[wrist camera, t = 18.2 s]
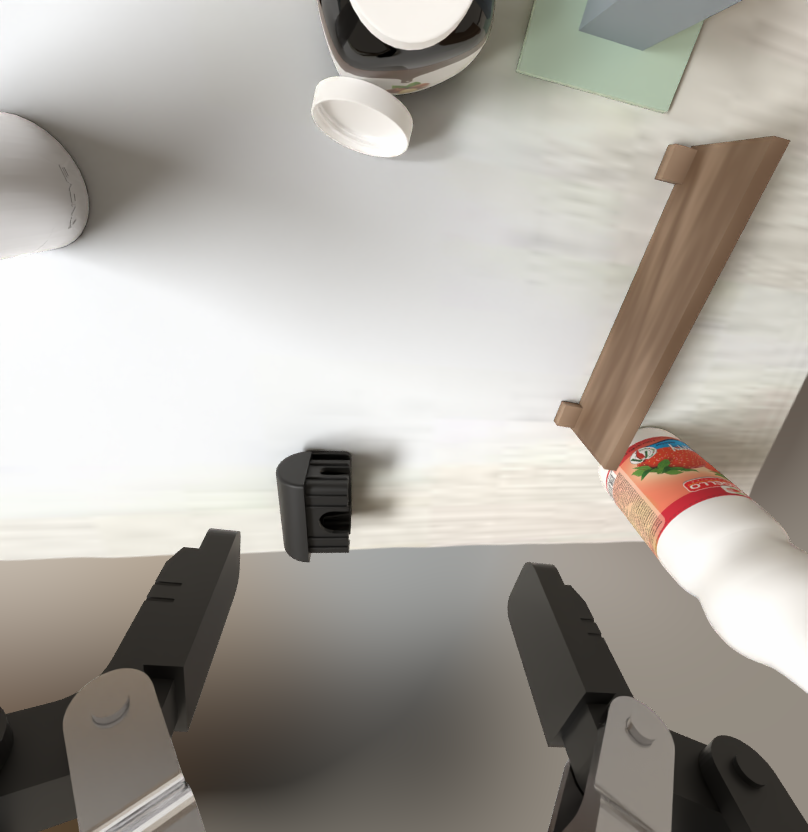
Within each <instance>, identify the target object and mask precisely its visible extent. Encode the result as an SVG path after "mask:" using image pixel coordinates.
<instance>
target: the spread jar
mask: <svg viewBox="0 0 808 832" xmlns="http://www.w3.org/2000/svg"><path fill="white" fill-rule="evenodd" d="M317 5H318V10H319V15H320V19H321V24H322V28H323V32H324V35H325V39H326V42H327V45H328V48H329V51H330V54H331V57H332V59H333V62H334V65H335V67H336V69H337V71H338V73H339V75H340V76H334V77H329V78H326V79H324V80H322V81H320V82H319V84H318V85H317V86H316V89H315V94H314V99H313V104H312V109H311V115H312V118H313V120H314V122H315V124H316V125H317V126H318V128H319V129H320V130H321V131H322V132H323V133H324V134H326V135H327V136H328V137H330V138H331V139H333V140H334V141H336V142H337V143H339V144H341V145H343V146H345V147H347V148H349V149H351V150H354V151H357V152H359V153H362V154H366V155H370V156H376V157H395V156H399V155H401V154H403V153H404V152H405V151H406V150H407V148H408V145H409V141H410V137H411V133H412V128H413V120H412V117H411V114H410V113H409V111H408V110H407V108H406V107H405V106H404V105H403V104H402V102H401V101H399V100H398V99H397V98H396V97H395V96H393V95H400V94H408V93H413V92H417V91H420V90H424V89H426V88H429V87H432V86H434V85H437V84H439V83H441V82H443V81H445V80H447V79H449V78H451V77H453V76H455V75H456V74H458V73H459V72H461V71H462V70H463V69H465V68H466V67H467V66H468V65H469V64H470V63H471V62H472V61H473V60H474V58H475V57H476V56H477V55H478V53H479V52H480V50H481V49H482V47H483V46H484V44H485V43H486V41H487V38H488V36H489V33H490V30H491V26H492V22H493V16H494V9H495V0H317Z"/></svg>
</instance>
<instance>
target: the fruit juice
mask: <svg viewBox="0 0 808 832" xmlns="http://www.w3.org/2000/svg"><path fill="white" fill-rule="evenodd" d="M598 472H599V478H600V481H601V483H602V485H603V487H604V488H605V490H606V491H607V492H608V494H609V495H610V496H611V498H612V499H613V500H614V502H615V503H616V504H617V506H618V507H619V508H620V510H621V511H622V512H623V513H624V515H625V516H626V517H627V519H628V520H629V521H630V523H631V524H632V525H633V527H634V528H635V529H636V531H637V532H638V533H639V534H640V536H641V537H642V538H643V540H644V541H645V542H646V544H647V545H648V546H649V548H650V549H651V550H652V552H653V553H654V554H655V555H656V557H657V558H658V560H659V561H660V562H661V564H662V565H663V567H664V568H665V569H666V570H667V571H668V573H669V574H670V575H671V576H672V577H673V578H674V579H675V581H676V582H677V583H678V584H679V585H680V586H681V587H682V588H684V589H685V590H686V591H687V592H688V593H690V594H692V595H693V596H695V597H697V598H698V599H699V601H700V603H701V605H702V607H703V610H704V612H705V614H706V617H707V619H708V620H709V623H710V624H711V626H712V627H713V629H714V630H715V631H716V632H717V634H718V635H719V636H720V637H721V638H722V639H723V640H724V641H725V642H726V643H727V644H728V645H729V646H730V647H731V648H732V649H734V650H735V651H737V652H738V653H740V654H741V655H743V656H745V657H747V658H749V659H752V660H754V661H756V662H759V663H761V664H764V665H767V666H770V667H771V668H773V669H775V670H777V671H778V672H780V673H781V674H783V675H784V676H786V677H787V678H788V679H789V680H791V681H792V682H793V683H795V684H796V685H797V686H799V687H800V688H801V689H803V690H804V691H805V692H806V693H808V553H807V552H805V551H804V550H801V549H800V548H797V547H796V546H795V545H793V544H792V543H791V541H790V539H789V537H788V535H787V533H786V531H785V530H784V529H783V527H782V526H781V525H780V524H779V523H778V522H777V521H776V520H775V519H774V518H773V517H772V516H771V515H770V514H769V513H768V512H767V511H766V510H765V509H763V508H762V507H761V506H760V505H759V504H757V503H756V502H755V501H754V500H752V499H751V498H750V497H749V496H747V495H746V494H745V493H744V492H743V491H741V490H740V489H739V488H738V487H737V486H735V485H734V484H733V483H732V482H731V481H729V480H728V479H727V478H726V477H725V476H723V475H722V474H721V473H720V472H718V471H717V470H716V469H715V468H714V467H712V466H711V465H710V464H709V463H708V462H706V461H705V460H704V459H703V458H702V457H700V456H699V455H698V454H697V453H696V452H694V451H693V450H692V449H691V448H690V447H688V446H687V445H686V444H685V443H684V442H682V441H681V440H680V439H679V438H678V437H676V436H675V435H673V434H671V433H670V432H668V431H666V430H663V429H659V428H652V427H647V428H640V429H638V431H637V433H636V435H635V436H634V438H633V440H632V442H631V444H630V446H629V448H628V450H627V452H626V453H625V455H624V457H623V459H622V461H621V463H620V465H619V467H618V469H617V471H612V470H605V469H604V468H603V467H602V466H601V465H600V464H599V468H598Z"/></svg>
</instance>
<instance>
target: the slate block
mask: <svg viewBox="0 0 808 832" xmlns="http://www.w3.org/2000/svg"><path fill="white" fill-rule="evenodd" d="M740 1H742V0H588V1H587V4H586V7H585V11H584V14H583V17H582V21H581V24H580V27H579V30H578V31H581V32H584V33H588V34H591V35H594V36H597V37H600V38H604V39H607V40H610V41H613V42H616V43H619V44H623V45H626V46H629V47H632V48H635V49H638V50H642V51H643V50H645V49H647V48H649V47H651V46H653V45H655V44H657V43H659V42H661V41H663V40H665V39H667V38H669V37H671V36H673V35H675V34H677V33H679V32H681V31H683V30H685V29H687V28H689V27H691V26H692V25H694V24H696V23H698V22H700V21H702V20H704V19H706V18H708V17H710V16H712V15H714V14H716V13H718V12H720V11H722V10H724V9H726V8H728V7H730V6H732V5H734V4H736V3H738V2H740Z"/></svg>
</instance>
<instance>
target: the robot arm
mask: <svg viewBox="0 0 808 832" xmlns="http://www.w3.org/2000/svg"><path fill="white" fill-rule="evenodd" d="M88 214H89V198H88V194H87V190H86V185H85V182H84V180H83V178H82V175H81V173H80V171H79V169H78V167H77V166H76V164H75V162H74V161H73V159H72V157H71V156H70V155H69V153H68V152H67V151H66V150H65V149H64V148H63V146H62V145H61V144H60V143H59V142H58V141H57V140H56V139H55V138H54V137H52V136H51V135H50V134H49V133H48V132H47V131H46V130H44V129H42V128H41V127H39V126H38V125H36V124H35V123H33V122H31V121H29V120H27V119H24V118H22V117H20V116H17V115H14V114H10V113H5V112H0V260H1V259H6V258H11V257H16V256H22V255H28V254H33V253H38V252H43V251H48V250H53V249H57V248H61V247H65V246H66V245H68V244H70V243H72V242H74V241H75V240H76V239H77V238H78V236H79V235H80V234H81V233H82V231H83V229H84V227H85V225H86V223H87V218H88ZM239 569H240V531H231V530H221V529H212V528H211V529H209V530H208V532H207V534H206V536H205V538H204V540H203V542H202V544H201V546H200V548H199V549H198V548H188V547H183V548H182V549H181V550H180V551H178V552H177V553H176V554H175V555H174V556H173V557H172V558H170V559H169V560H168V561H167V562H166V563H165V565H164V567H163V569H162V570H161V572H160V574H159V576H158V578H157V579H156V582H155V585H153V586H152V588H151V590H150V592H149V594H148V595H147V599H146V601H144V603H143V604H142V606H141V608H140V610H139V612H138V613H137V615H136V617H135V619H134V621H133V622H132V624H131V626H130V628H129V630H128V631H127V633H126V635H125V637H124V639H123V640H122V642H121V644H120V646H119V648H118V650H117V651H116V653H115V655H114V657H113V658H112V660H111V662H110V663H109V665H108V666H107V668H106V669H105V670H104V671H103V673H102V674H101V675H100V676H99V677H97V678H95V679H93V680H92V681H91V682H89V683H88V684H87V685H86V686H84V687H83V688H82V689H81V690H80V691H79V692H77V693H75V694H73V695H71V696H69V697H67V698H64V699H62V700H59V701H56V702H52V703H48V704H44V705H40V706H36V707H32V708H28V709H24V710H20V711H17V712H13V713H9V714H5V713H4V711H3V709H2V708H1V707H0V832H39V831H42V830H45V829H48V828H50V827H53V826H56V825H59V824H62V823H64V822H67V821H70V820H73V819H76V818H78V825H79V831H80V832H205V828H204V825H203V822H202V819H201V816H200V813H199V810H198V807H197V804H196V801H195V799H194V796H193V793H192V791H191V789H190V786H189V785H188V783H186V782H185V780H184V777H183V775H182V772H181V769H180V766H179V763H178V760H177V757H176V754H175V750H174V747H173V744H172V741H171V737H172V734H173V731H180V732H188V730H189V727H190V724H191V721H192V718H193V715H194V712H195V709H196V706H197V703H198V700H199V698H200V695H201V692H202V689H203V686H204V683H205V680H206V677H207V674H208V671H209V668H210V666H211V663H212V659H213V656H214V654H215V651H216V648H217V645H218V642H219V639H220V636H221V634H222V631H223V628H224V625H225V622H226V619H227V616H228V613H229V610H230V607H231V604H232V602H233V599H234V596H235V592H236V588H237V584H238V579H239ZM508 617H509V621H510V625H511V628H512V631H513V634H514V637H515V641H516V644H517V647H518V650H519V654H520V657H521V660H522V663H523V667H524V670H525V673H526V676H527V680H528V683H529V686H530V689H531V693H532V696H533V699H534V702H535V705H536V709H537V712H538V715H539V718H540V722H541V725H542V728H543V731H544V735H545V738H546V741H547V744H548V747H565V748H566V751H567V754H568V757H569V759H568V761H567V762H566V765H565V767H564V771H563V775H562V779H561V783H560V787H559V790H558V794H557V798H556V801H555V806H554V809H553V813H552V817H551V821H550V824H549V828H548V832H808V824H807V823H806V821H805V819H804V818H803V816H802V815H801V813H800V812H799V810H798V808H797V807H796V805H795V804H794V802H793V801H792V799H791V797H790V796H789V794H788V793H787V791H786V789H785V788H784V786H783V785H782V783H781V782H780V780H779V779H778V777H777V775H776V774H775V773H774V771H773V770H772V769H771V767H770V766H769V765H768V763H767V762H766V761H765V760H764V759H763V758H762V757H761V756H760V755H759V754H758V753H757V752H756V751H755V750H753V749H752V748H751V747H749V746H748V745H746V744H745V743H743V742H742V741H740V740H738V739H736V738H733V737H730V736H722V735H721V736H717V737H716V738H714V739H713V740H712V741H711V742H710V743H709V744H708V745H705V744H703V743H700V742H698V741H695V740H693V739H690V738H688V737H685V736H683V735H680V734H678V733H676V732H673V731H671V730H669V729H668V728H667V726H666V725H665V723H664V722H663V721H662V719H661V718H660V717H659V716H658V715H657V714H656V713H655V711H653V710H652V709H651V708H650V707H649V706H647V705H646V704H644V703H643V702H641V701H639V700H637V699H635V698H634V697H633V695H632V693H631V692H630V689H629V688H628V686H627V684H626V682H625V680H624V678H623V676H622V674H621V672H620V670H619V668H618V666H617V664H616V662H615V660H614V658H613V656H612V654H611V652H610V650H609V648H608V646H607V644H606V642H605V640H604V638H602V637H601V632H600V630H599V628H598V626H597V624H596V623H594V618H593V616H592V614H591V612H590V610H589V609H588V607H587V604H586V602H585V601H584V600H583V599H582V598H581V597H580V595H579V594H578V593H577V592H576V591H575V590H574V589H573V588H572V586H571V585H564V583H563V581H562V579H561V576H560V574H559V572H558V570H557V569H556V567H555V566H554V565H550V564H540V563H531V562H527V563H525V565H524V566H523V568H522V570H521V573H520V575H519V577H518V579H517V581H516V583H515V585H514V588H513V590H512V592H511V594H510V596H509V600H508Z"/></svg>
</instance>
